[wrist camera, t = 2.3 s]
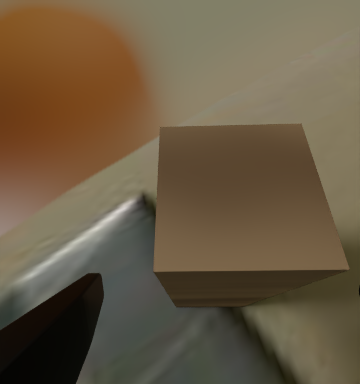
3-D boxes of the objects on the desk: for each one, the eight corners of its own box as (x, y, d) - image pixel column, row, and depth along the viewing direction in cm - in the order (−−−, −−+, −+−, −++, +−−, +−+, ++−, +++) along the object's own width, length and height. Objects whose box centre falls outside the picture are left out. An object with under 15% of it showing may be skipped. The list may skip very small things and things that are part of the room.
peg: (242, 306, 17) (349, 269, 6) (176, 307, 17) (153, 271, 6) (234, 242, 19) (301, 123, 8) (176, 242, 19) (160, 127, 8)
